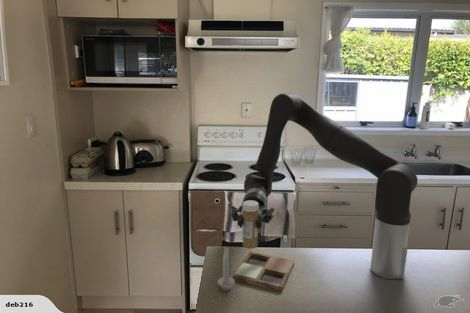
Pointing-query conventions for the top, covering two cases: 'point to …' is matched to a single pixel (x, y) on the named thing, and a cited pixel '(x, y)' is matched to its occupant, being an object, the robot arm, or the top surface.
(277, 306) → the top surface
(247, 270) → the board
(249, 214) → the sprinkles bottle
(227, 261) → the screw
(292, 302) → the top surface
